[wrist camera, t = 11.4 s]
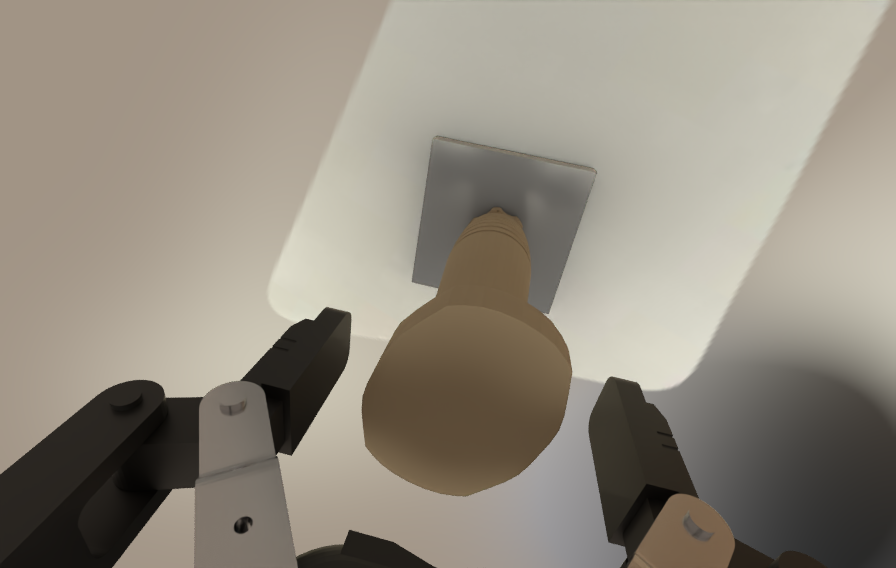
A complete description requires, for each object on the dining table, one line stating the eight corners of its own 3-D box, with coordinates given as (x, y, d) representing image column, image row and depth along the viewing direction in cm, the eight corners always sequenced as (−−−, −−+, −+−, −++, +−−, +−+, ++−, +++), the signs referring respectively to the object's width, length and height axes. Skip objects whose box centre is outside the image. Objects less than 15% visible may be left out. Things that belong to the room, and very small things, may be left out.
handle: (436, 257, 25) (334, 445, 12) (486, 163, 22) (426, 270, 9) (504, 293, 25) (480, 517, 12) (562, 205, 22) (616, 371, 9)
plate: (436, 136, 23) (432, 138, 22) (593, 168, 22) (596, 172, 21) (416, 274, 27) (411, 282, 26) (547, 304, 27) (548, 313, 26)
